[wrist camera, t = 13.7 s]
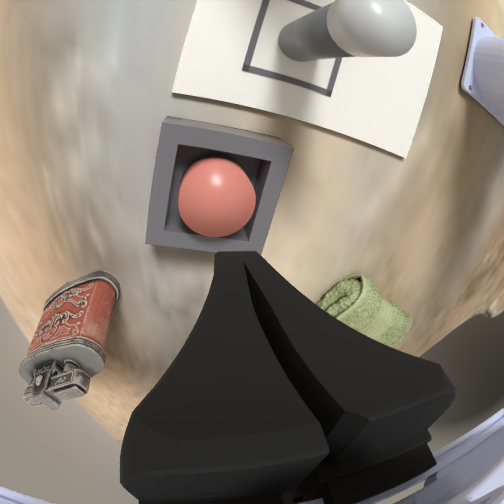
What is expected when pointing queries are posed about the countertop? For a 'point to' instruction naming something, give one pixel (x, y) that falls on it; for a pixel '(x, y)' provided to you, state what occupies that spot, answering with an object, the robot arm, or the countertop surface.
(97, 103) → the countertop surface
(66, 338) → the lighter
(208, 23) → the paper sheet
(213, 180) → the button
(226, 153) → the button housing
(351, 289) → the washcloth
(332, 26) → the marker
